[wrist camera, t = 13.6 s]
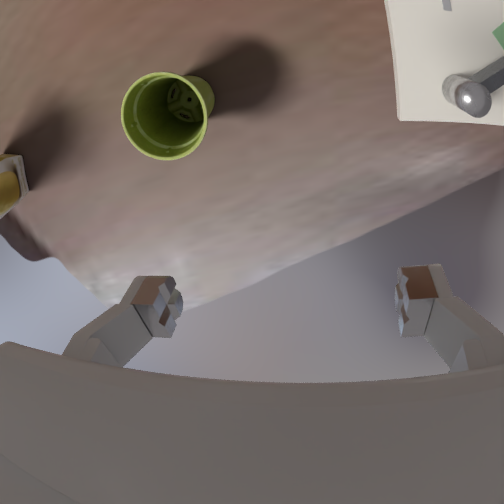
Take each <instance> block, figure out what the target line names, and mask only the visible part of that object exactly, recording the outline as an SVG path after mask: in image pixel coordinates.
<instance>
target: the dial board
mask: <svg viewBox="0 0 504 504" xmlns="http://www.w3.org/2000/svg"><path fill="white" fill-rule="evenodd" d="M384 2H385V8H386V13H387V19H388V26H389V32H390V40H391V47H392V56H393V65H394V75H395V87H396V101H397V118H398V119H399V120H400V121H443V122H464V123H479V124H492V125H502V126H504V85H503V86H501V87H500V88H498V89H497V90H495V91H494V92H492V93H491V94H490V95H491V99H492V105H491V109H490V111H489V112H488V114H487V115H485V116H484V117H481V118H475V117H473V116H471V115H469V114H468V113H466V112H464V111H463V110H461V109H459V108H458V107H456V106H454V105H453V104H451V103H449V102H448V101H447V100H446V99H445V98H444V96H443V93H442V84H443V81H444V80H445V78H446V77H448V76H450V75H458V76H461V77H464V78H466V79H468V78H469V77H471V76H472V75H474V74H475V73H477V72H479V71H480V70H482V69H483V68H485V67H487V66H488V65H490V64H491V63H493V62H495V61H496V60H498V59H499V58H501V57H503V56H504V0H384Z"/></svg>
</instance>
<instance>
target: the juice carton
mask: <svg viewBox="0 0 504 504" xmlns="http://www.w3.org/2000/svg"><path fill="white" fill-rule="evenodd" d="M28 192H29V189H28V184H27V180H26V175H25V170H24V163H23V158H22V156H21V155H12V154H1V155H0V219H1V218H2V217H3V216H4V215H5V214H6V213H7V212H9V211H10V210H11V209H12V208H13V207H14V206H15V205H16V204H18V203H19V202H20V201H21V200H22V199H23V197H24V196H25V195H26V194H27V193H28Z"/></svg>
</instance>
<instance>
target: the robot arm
mask: <svg viewBox="0 0 504 504" xmlns="http://www.w3.org/2000/svg"><path fill="white" fill-rule="evenodd" d="M397 278H398V282H399V283H398V284H397V285H396V289H395V307H396V312H397V313H398V314H399V315H400V316H399V321H398V323H399V329H400V334H401V337H413V336H414V337H415V336H424V338H425V339H426V340H427V341H428V343H429V344H430V345H431V346H432V347H433V348H434V350H435V351H436V352H437V353H438V354H439V356H440V357H441V358H442V359H443V360H444V362H445V363H446V364H447V365H448V366H449V367H450V371H449V372H448V374H440V375H432V376H424V377H414V378H404V379H392V380H378V381H361V382H336V383H275V382H252V381H251V382H250V381H235V380H221V379H220V380H219V379H208V378H197V377H188V376H179V375H171V374H163V373H155V372H148V371H141V370H135V369H129V368H123V366H124V365H125V364H126V363H127V362H129V361H130V359H131V358H133V357H134V356H135V355H136V354H137V353H138V352H139V351H140V350H141V349H142V348H143V347H144V346H145V345H146V344H147V343H148V342H149V341H150V340H151V339H152V337H162V338H163V337H164V338H171V337H172V335H173V332H174V330H175V327H176V322H175V320H176V319H177V318H178V317H180V315H181V313H182V310H183V299H182V296H181V293H180V292H179V291H178V290H176V289H175V286H176V282H175V280H174V278H173V277H171V276H137V277H136V278H135V279H134V280H133V282H132V284H131V285H130V287H129V288H128V290H127V292H126V293H125V295H124V297H123V298H122V300H121V302H120V303H119V304H116V305H114V306H113V307H111V308H110V309H108V310H107V311H106V312H104V313H103V314H101V315H100V316H99V317H97V318H96V319H94V320H93V321H92V322H90V323H89V324H87V325H86V326H85V327H83V328H82V329H80V330H79V331H78V332H76V333H75V334H74V335H73V337H72V338H71V340H70V342H69V344H68V345H67V347H66V349H65V350H64V352H63V354H62V355H58V354H54V353H50V352H46V351H42V350H38V349H35V348H31V347H27V346H23V345H20V344H17V343H14V342H5V343H3V344H1V345H0V504H504V335H503V333H501V332H500V331H499V330H498V329H497V328H496V327H494V326H493V325H492V324H491V323H490V322H488V321H487V320H486V319H485V318H484V317H482V316H481V315H480V314H479V313H477V312H476V311H475V310H474V309H473V308H471V307H470V306H469V305H468V304H466V303H465V302H464V301H462V300H461V299H460V298H459V297H454V296H453V294H452V291H451V288H450V286H449V283H448V281H447V278H446V276H445V273H444V271H443V269H442V266H441V265H440V264H431V265H421V266H407V267H399V269H398V274H397Z"/></svg>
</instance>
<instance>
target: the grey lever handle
mask: <svg viewBox="0 0 504 504" xmlns="http://www.w3.org/2000/svg"><path fill="white" fill-rule="evenodd" d="M503 85H504V56H503V57H501V58H499V59H498V60H496V61H495V62H493V63H491V64H490V65H488V66H487V67H485V68H483V69H482V70H480V71H479V72H477V73H475V74H474V75H472V76H471V77H469V78H468V79H466V78H464V77H461V76H458V75H450V76H448V77H446V78H445V80H444V81H443V84H442V93H443V96H444V98H445V99H446V100H447V101H448V102H449V103H451V104H453V105H454V106H456V107H458V108H459V109H461V110H463V111H464V112H466V113H468V114H469V115H471V116H473V117H475V118H481V117H484V116H485V115H487V114H488V112H489V111H490V109H491V105H492V99H491V95H490V94H491V93H492V92H494V91H495V90H497V89H498V88H500V87H501V86H503Z"/></svg>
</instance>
